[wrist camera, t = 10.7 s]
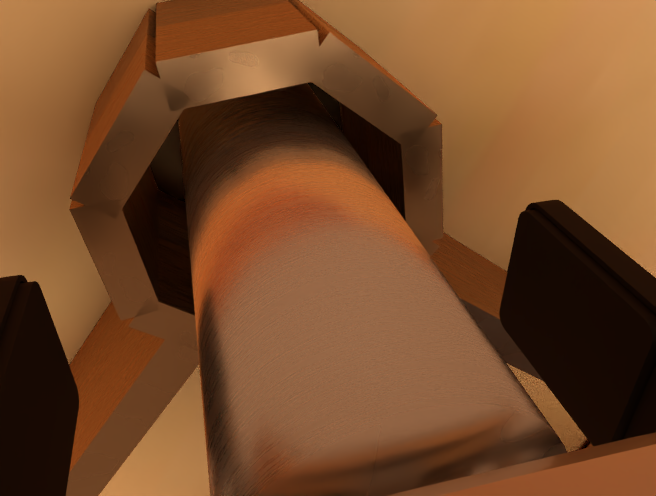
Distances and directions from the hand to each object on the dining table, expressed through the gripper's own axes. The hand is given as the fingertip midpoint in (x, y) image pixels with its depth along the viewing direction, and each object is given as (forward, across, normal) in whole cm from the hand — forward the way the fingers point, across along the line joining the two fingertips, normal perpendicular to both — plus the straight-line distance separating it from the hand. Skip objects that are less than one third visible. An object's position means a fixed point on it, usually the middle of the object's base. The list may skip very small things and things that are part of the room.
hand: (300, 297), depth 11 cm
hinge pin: (+9, 0, 0) cm, 9 cm away
